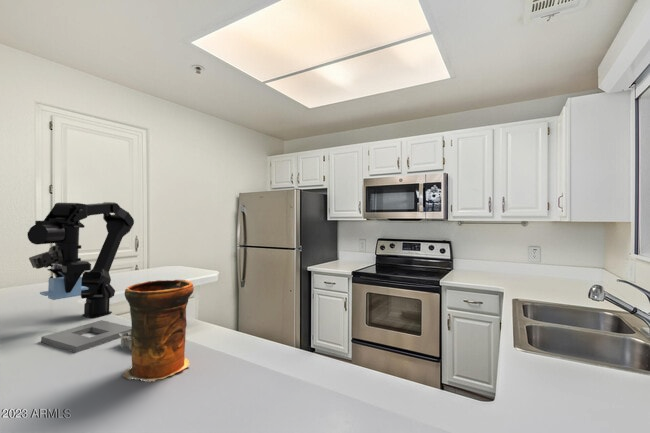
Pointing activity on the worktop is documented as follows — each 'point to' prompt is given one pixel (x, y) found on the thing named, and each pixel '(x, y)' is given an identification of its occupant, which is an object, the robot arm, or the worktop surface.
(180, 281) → the vessel
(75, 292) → the servo
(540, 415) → the worktop surface
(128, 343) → the egg carton
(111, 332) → the chassis
